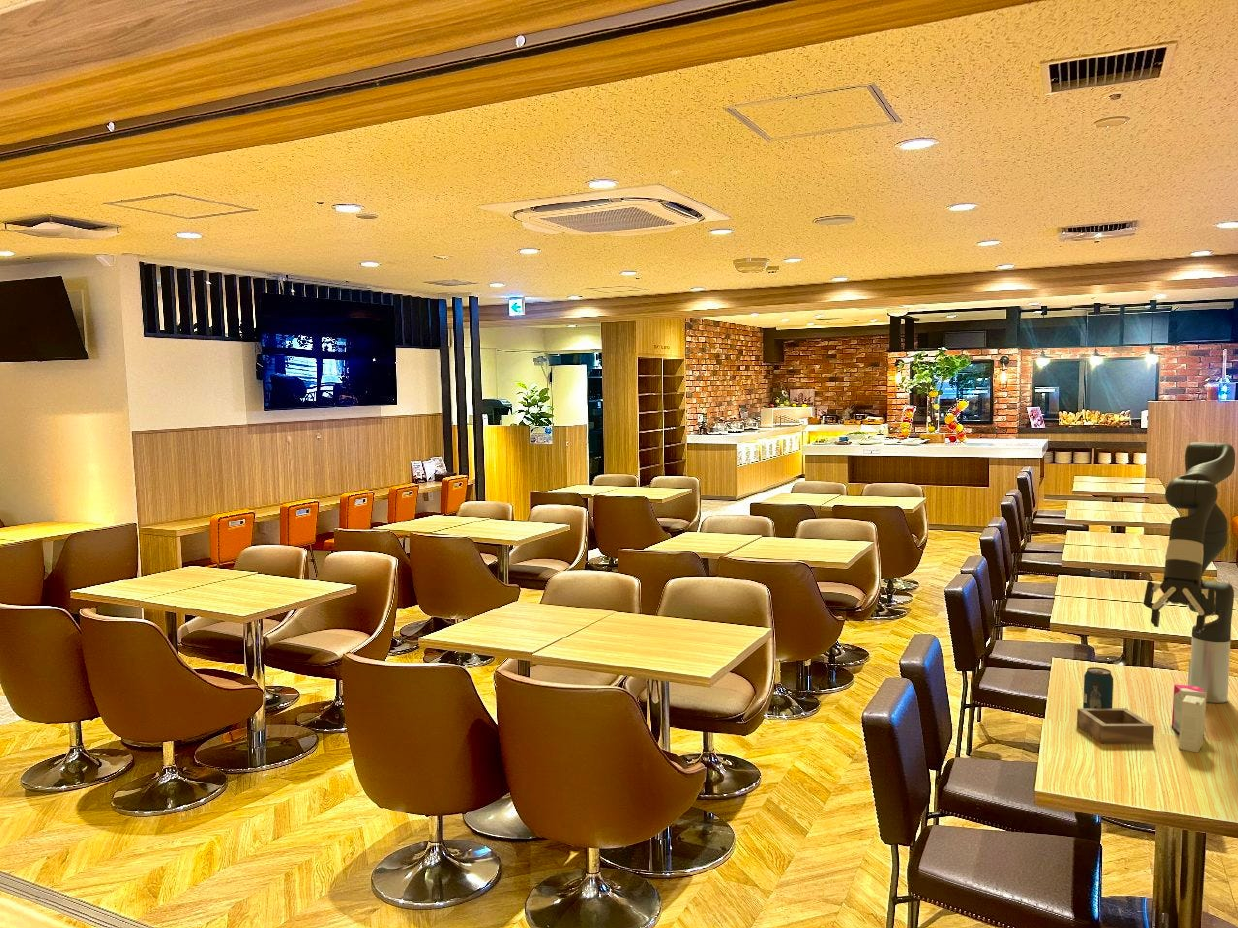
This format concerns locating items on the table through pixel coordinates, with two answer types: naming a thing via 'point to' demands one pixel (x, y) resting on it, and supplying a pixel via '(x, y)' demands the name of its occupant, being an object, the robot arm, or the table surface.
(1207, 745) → the table surface
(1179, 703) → the supplement box
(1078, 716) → the brown wooden square frame
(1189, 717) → the skincare box
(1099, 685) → the soda can
